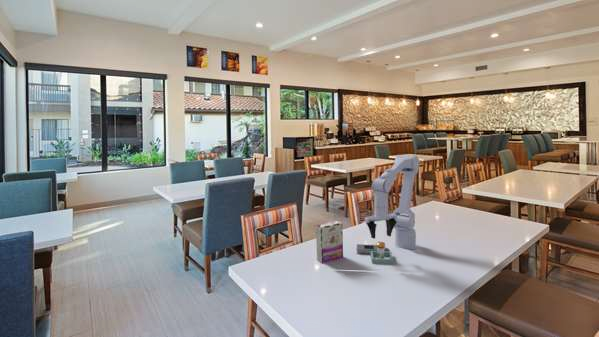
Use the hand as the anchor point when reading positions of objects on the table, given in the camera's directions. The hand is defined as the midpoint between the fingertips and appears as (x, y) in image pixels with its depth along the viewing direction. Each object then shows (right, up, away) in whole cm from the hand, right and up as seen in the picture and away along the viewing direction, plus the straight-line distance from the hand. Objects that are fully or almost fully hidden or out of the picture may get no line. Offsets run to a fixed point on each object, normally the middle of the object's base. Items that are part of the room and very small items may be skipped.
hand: (381, 236), depth 140 cm
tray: (0, -10, 0) cm, 10 cm away
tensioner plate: (-1, -9, +9) cm, 13 cm away
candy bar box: (-22, -11, +3) cm, 25 cm away
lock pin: (0, -10, +1) cm, 10 cm away
